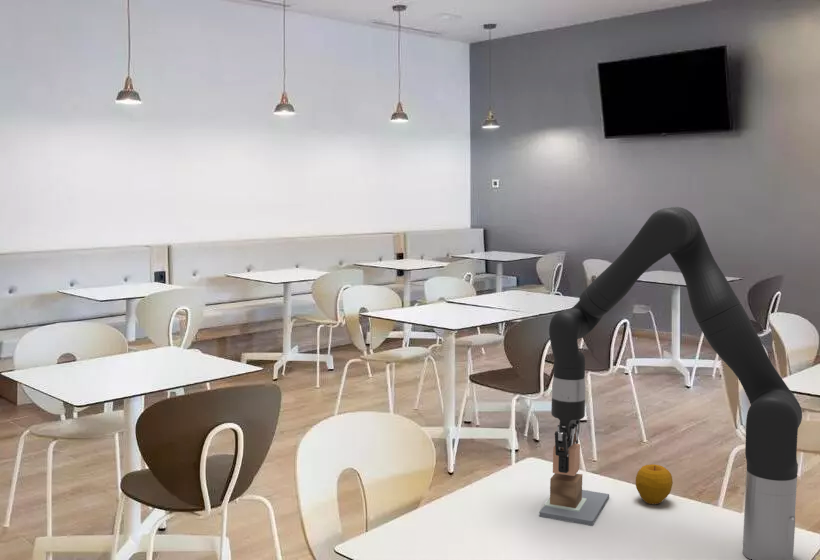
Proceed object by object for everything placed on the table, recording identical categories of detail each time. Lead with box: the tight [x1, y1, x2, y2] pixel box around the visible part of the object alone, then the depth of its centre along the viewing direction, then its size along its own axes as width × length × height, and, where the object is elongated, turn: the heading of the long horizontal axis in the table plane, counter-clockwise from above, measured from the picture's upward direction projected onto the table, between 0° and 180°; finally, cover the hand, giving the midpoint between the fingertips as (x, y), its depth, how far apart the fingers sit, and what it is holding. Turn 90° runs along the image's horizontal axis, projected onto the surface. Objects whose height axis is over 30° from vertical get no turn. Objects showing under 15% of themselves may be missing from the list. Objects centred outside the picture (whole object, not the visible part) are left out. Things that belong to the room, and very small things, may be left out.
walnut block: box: [549, 473, 583, 508], centre depth 187 cm, size 6×6×6 cm
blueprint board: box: [538, 489, 610, 527], centre depth 188 cm, size 12×18×1 cm, turn 155°
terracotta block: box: [552, 443, 581, 476], centre depth 187 cm, size 5×5×6 cm
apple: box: [635, 463, 674, 505], centre depth 191 cm, size 8×8×9 cm
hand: (566, 468), depth 187 cm, fingers closed on terracotta block, 5 cm apart
